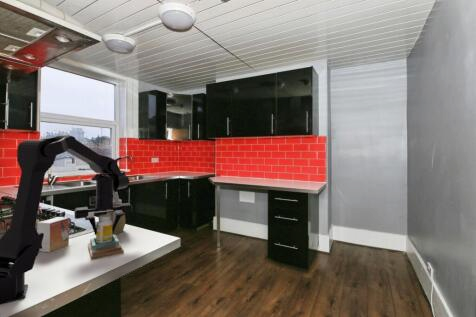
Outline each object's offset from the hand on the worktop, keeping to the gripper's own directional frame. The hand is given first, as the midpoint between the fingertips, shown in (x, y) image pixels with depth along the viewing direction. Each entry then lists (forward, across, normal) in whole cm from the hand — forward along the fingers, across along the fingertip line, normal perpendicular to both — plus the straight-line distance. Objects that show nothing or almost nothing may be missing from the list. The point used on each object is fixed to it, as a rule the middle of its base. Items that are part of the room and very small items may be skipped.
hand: (104, 233), depth 91 cm
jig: (+6, 0, +2) cm, 6 cm away
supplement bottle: (+3, 0, 0) cm, 3 cm away
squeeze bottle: (+6, -7, -17) cm, 19 cm away
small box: (+6, +15, -10) cm, 19 cm away
